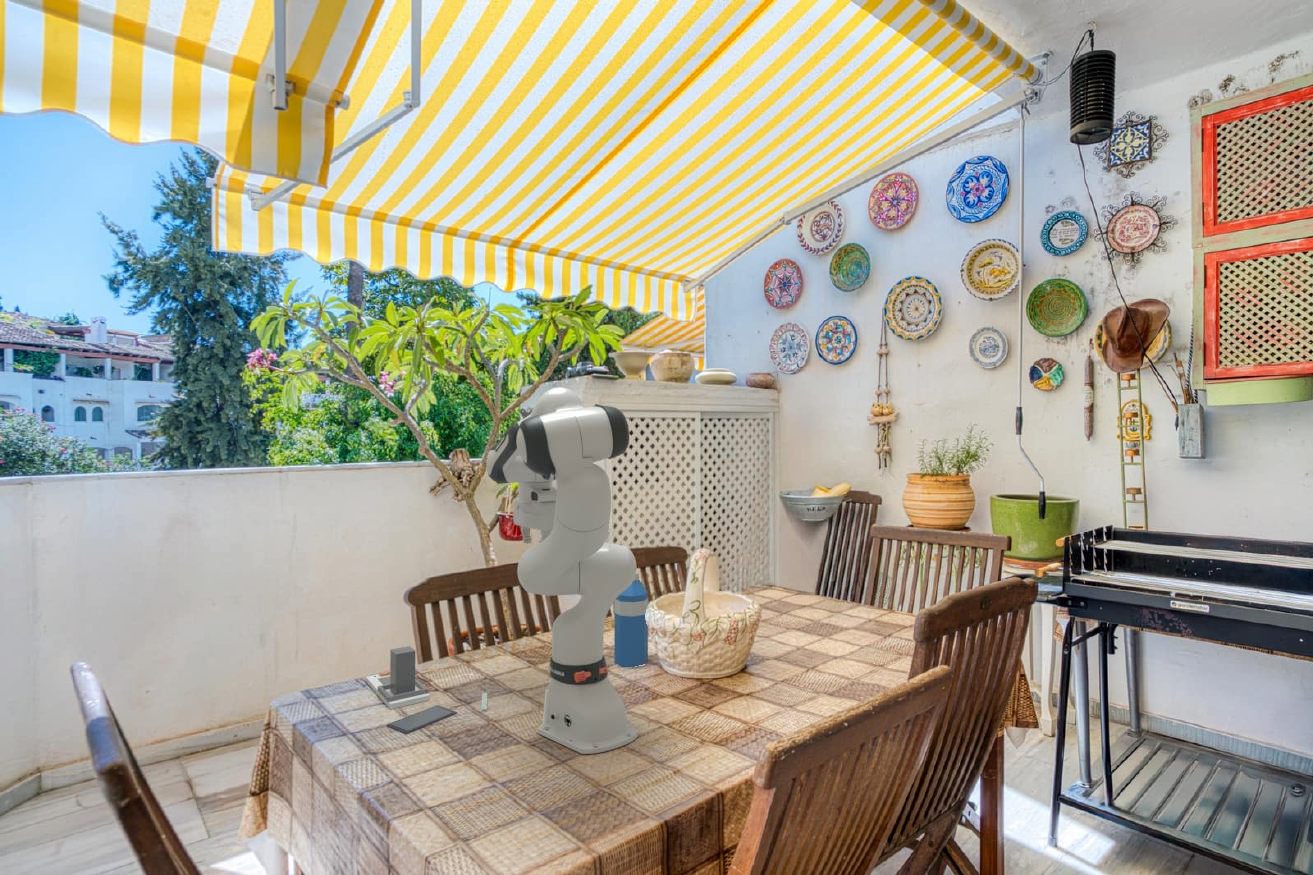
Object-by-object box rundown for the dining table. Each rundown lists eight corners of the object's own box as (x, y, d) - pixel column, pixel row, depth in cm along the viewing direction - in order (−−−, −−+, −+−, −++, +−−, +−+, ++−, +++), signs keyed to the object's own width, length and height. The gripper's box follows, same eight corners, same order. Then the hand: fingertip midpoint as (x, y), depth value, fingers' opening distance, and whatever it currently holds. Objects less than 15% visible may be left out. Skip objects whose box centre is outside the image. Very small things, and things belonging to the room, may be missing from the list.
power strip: (429, 700, 155) (429, 690, 155) (390, 709, 150) (390, 699, 150) (402, 674, 173) (402, 665, 173) (365, 681, 167) (365, 673, 167)
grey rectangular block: (415, 692, 157) (415, 650, 157) (395, 696, 154) (395, 654, 154) (409, 686, 161) (409, 646, 161) (390, 691, 158) (390, 649, 158)
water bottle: (633, 670, 176) (633, 577, 176) (607, 663, 181) (607, 573, 182) (654, 661, 183) (654, 571, 183) (628, 654, 189) (629, 568, 189)
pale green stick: (482, 697, 158) (482, 693, 158) (487, 697, 159) (487, 692, 159) (481, 713, 149) (481, 709, 149) (487, 713, 149) (487, 708, 149)
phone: (457, 716, 148) (457, 711, 148) (406, 737, 137) (406, 732, 137) (437, 709, 152) (437, 704, 152) (386, 729, 141) (386, 724, 141)
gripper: (507, 490, 179) (507, 541, 179) (542, 495, 163) (542, 551, 162) (528, 490, 183) (528, 539, 182) (565, 494, 166) (564, 549, 166)
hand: (535, 545), depth 172 cm, fingers open, 8 cm apart
